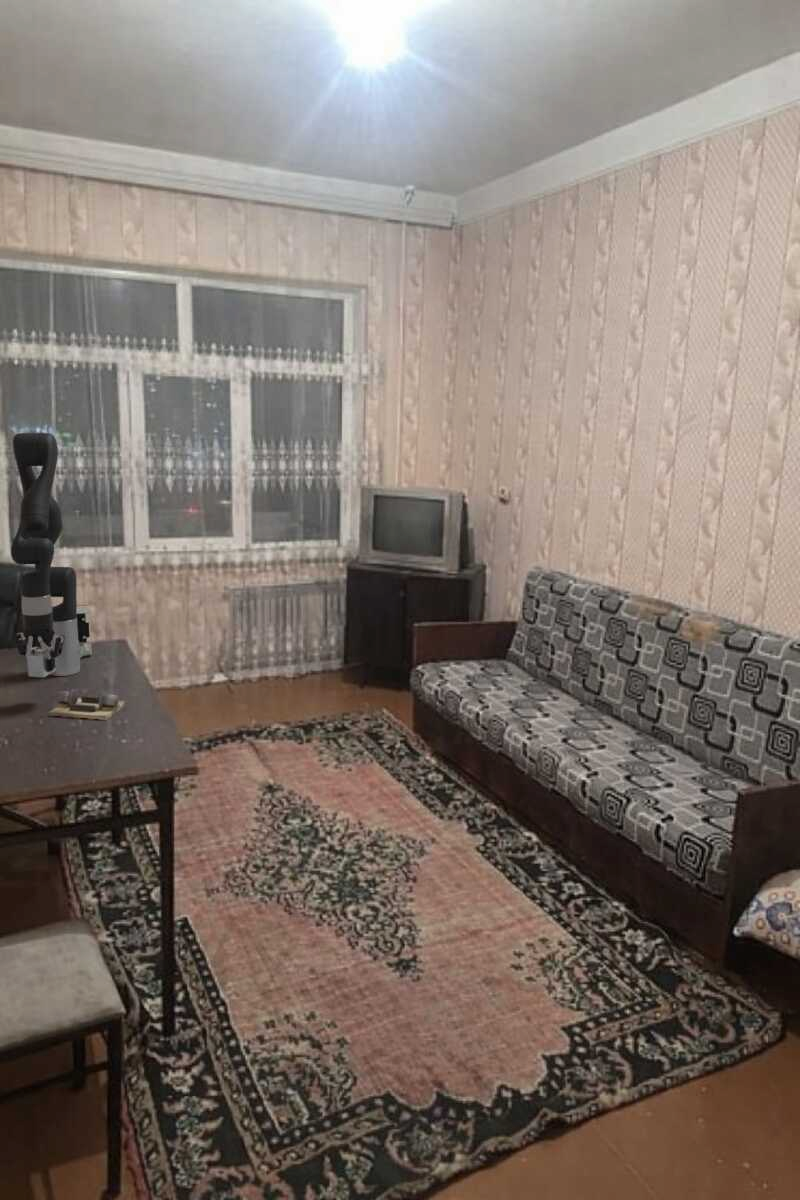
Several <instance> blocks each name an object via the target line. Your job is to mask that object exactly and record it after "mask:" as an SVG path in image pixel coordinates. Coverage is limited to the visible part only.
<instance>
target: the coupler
mask: <svg viewBox="0 0 800 1200" xmlns="http://www.w3.org/2000/svg"><path fill="white" fill-rule="evenodd" d="M26 662H27V674H28V677H32V678H34V677H35V678H45V677H47V676H49V675H50V674H51V673H52V672H54V671H55V669H54V670H53V671H51V672H48V671H47V657H46V654H45V652H43V649H42V648H38V649H36V650H35V651H34V652H32V653H30V654H29V655H27V657H26Z"/></svg>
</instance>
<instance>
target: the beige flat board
mask: <svg viewBox="0 0 800 1200" xmlns="http://www.w3.org/2000/svg"><path fill="white" fill-rule="evenodd" d="M56 699H57V702H58V703H56V707H55V708H53V709H52V710H49V712H48V716H49V717H54V716H62V717H61V718H67V717H73V718H72V719H80V718H87V719H86V720H94V719H99V720H98V721H107V719H108V718H109V717H110V718H112V717H113V716H114V715H115V713H116V712H117V711H118V712H120V711H121V710H122V709H124V708H125V707H127V701H126V700H124V701H123V700H119V696H118V694H108V693H107V691H104V690H103V691H101V692H100V693H99V694H98V696H87V695H86V696H85V695H82V696H81V697H79V692H78V690H77V689H74V688H73V689H71V690H70V691H66V690H65V691H64V690H60V691H59V692H58V693H57V698H56ZM124 706H125V707H124ZM123 707H124V708H123ZM121 708H122V709H121ZM120 709H121V710H120ZM119 710H120V711H119ZM118 712H117V713H118ZM117 713H116V714H117ZM113 714H114V715H113ZM112 715H113V716H112ZM111 716H112V717H111ZM110 718H109V719H110ZM109 719H108V720H109Z"/></svg>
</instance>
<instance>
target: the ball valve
mask: <svg viewBox="0 0 800 1200" xmlns="http://www.w3.org/2000/svg"><path fill="white" fill-rule="evenodd" d="M91 613H92V612H91V608H88V607H87V604H77V629H78V640H79V652H80V659H81V658H83V657H84V656H85V657H88V656H91V655H92V653H93V652H92V650H93V649H92V643H87V642H88V638H90V637H91V636H90V635H91V629H92V626H91V624H92V623H91ZM85 657H84V658H85Z"/></svg>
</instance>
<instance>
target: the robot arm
mask: <svg viewBox="0 0 800 1200" xmlns="http://www.w3.org/2000/svg"><path fill="white" fill-rule="evenodd" d="M12 440H13V441H12V448H13V449H12V450H13V455H14V460H15V463H16V467H17V471H18V474H19V479H20V483H21V487H22V494H23V498H22V499H21V503H20V516H19V517H20V519H19V526H18V528H17V532H16V534H15V536H14V538H13V541H12V544H11V546H10V556H11V559H12V560H13V561H14V563H15V564H18V565H21V566H22V565H23V566H25V565H34V571H30V572H26V573H23V574H22V575H21V576H20V587H21V612H22V624H23V626H22V627H23V628H24V630H23V632H21V631H20V632H17V633H16V634H14V635H13V638H14V642H15V645H16V647H17V650H18V654H19V655H20V656H25V658H27V655H29V654H30V653H32V652H34V651H36V650H37V648H40V649H43V652H45V654H46V657H47V671H48V672H51V671H53V670H54V669H55V671H54V672H52V673H51V674H49V675H50V676H54V677H63V676H65V677H66V676H67V677H68V676H72V675H75V674H77V673H79V672H80V671H81V670H80V669H81V658H80V652H79V640H78V629H77V605H78V603H77V586H78V585H77V574H76V570H75V569H74V567H71V566H52V563H53V560H54V559H53V558H54V554H55V544H56V542H57V541H58V539H59V538H60V535H61V533H62V531H63V521H62V515H61V513H62V512H61V508H60V506H59V504H58V501H57V500H56V499H55V498H54V497H53V496H52V495H51V494H52V489H53V485H54V479H55V475H56V469H57V464H58V457H59V447H58V443H57V440H56V437H55V436H54V435H53V434H52V433H49V432H22V433H21V432H20V433H16V434H15V435H14V436H13V439H12ZM33 467H42V468H41V470H40V473H39V475H38V477H37V476H36V474H35V471H34V470H33ZM52 598H62V602H61V603H59V604H58V605H55V606H53V602H52ZM26 641H27V643H26Z"/></svg>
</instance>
